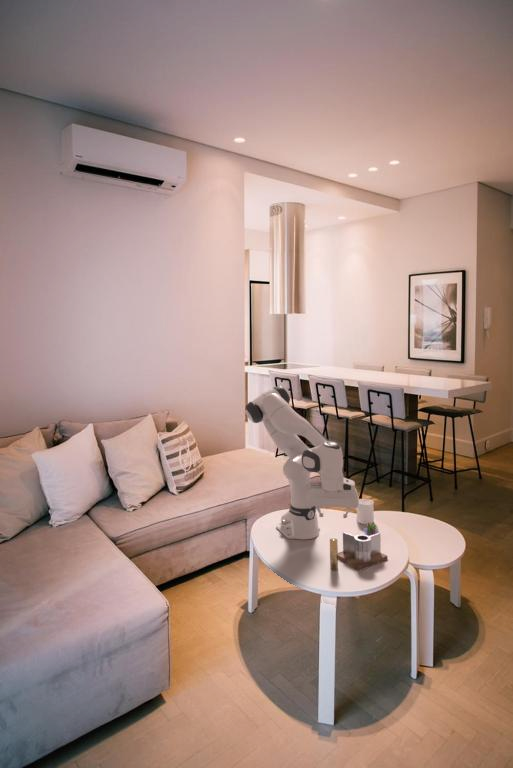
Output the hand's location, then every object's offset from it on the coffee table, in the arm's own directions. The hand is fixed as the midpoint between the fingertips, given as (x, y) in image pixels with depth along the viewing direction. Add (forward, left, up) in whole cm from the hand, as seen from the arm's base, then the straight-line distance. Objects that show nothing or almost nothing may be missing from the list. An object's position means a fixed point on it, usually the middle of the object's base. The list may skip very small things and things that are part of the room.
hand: (333, 517), depth 185 cm
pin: (0, 0, -22) cm, 22 cm away
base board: (0, +15, -21) cm, 26 cm away
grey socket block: (0, +16, -20) cm, 26 cm away
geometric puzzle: (-12, +33, -22) cm, 41 cm away
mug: (-29, +45, -22) cm, 58 cm away
